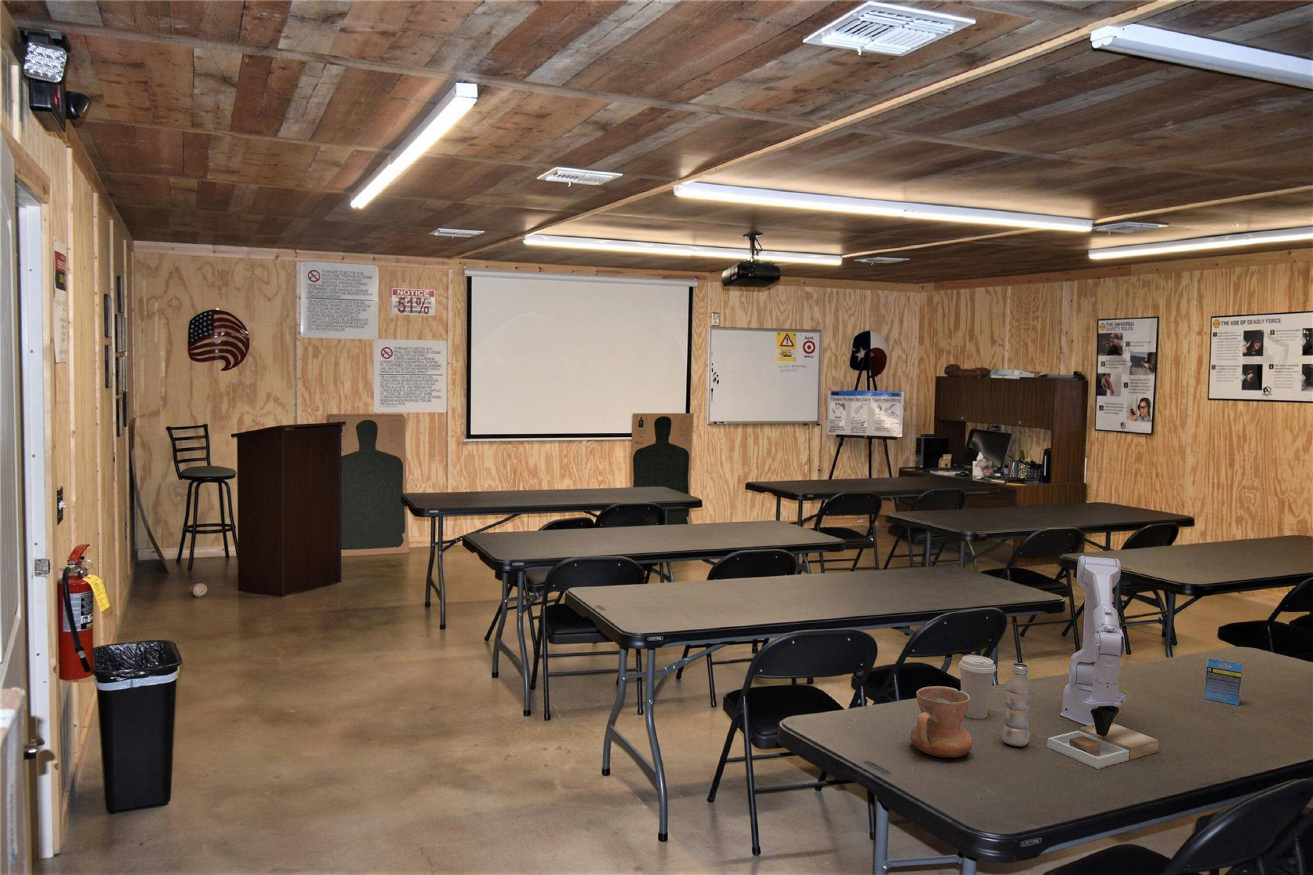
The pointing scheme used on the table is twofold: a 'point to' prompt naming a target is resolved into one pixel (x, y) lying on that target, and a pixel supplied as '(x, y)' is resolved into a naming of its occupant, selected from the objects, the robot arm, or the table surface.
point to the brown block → (1086, 745)
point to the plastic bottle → (1017, 706)
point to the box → (1106, 758)
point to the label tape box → (1223, 681)
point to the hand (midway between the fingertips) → (1101, 734)
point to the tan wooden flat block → (1126, 740)
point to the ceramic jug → (942, 722)
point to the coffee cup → (977, 683)
